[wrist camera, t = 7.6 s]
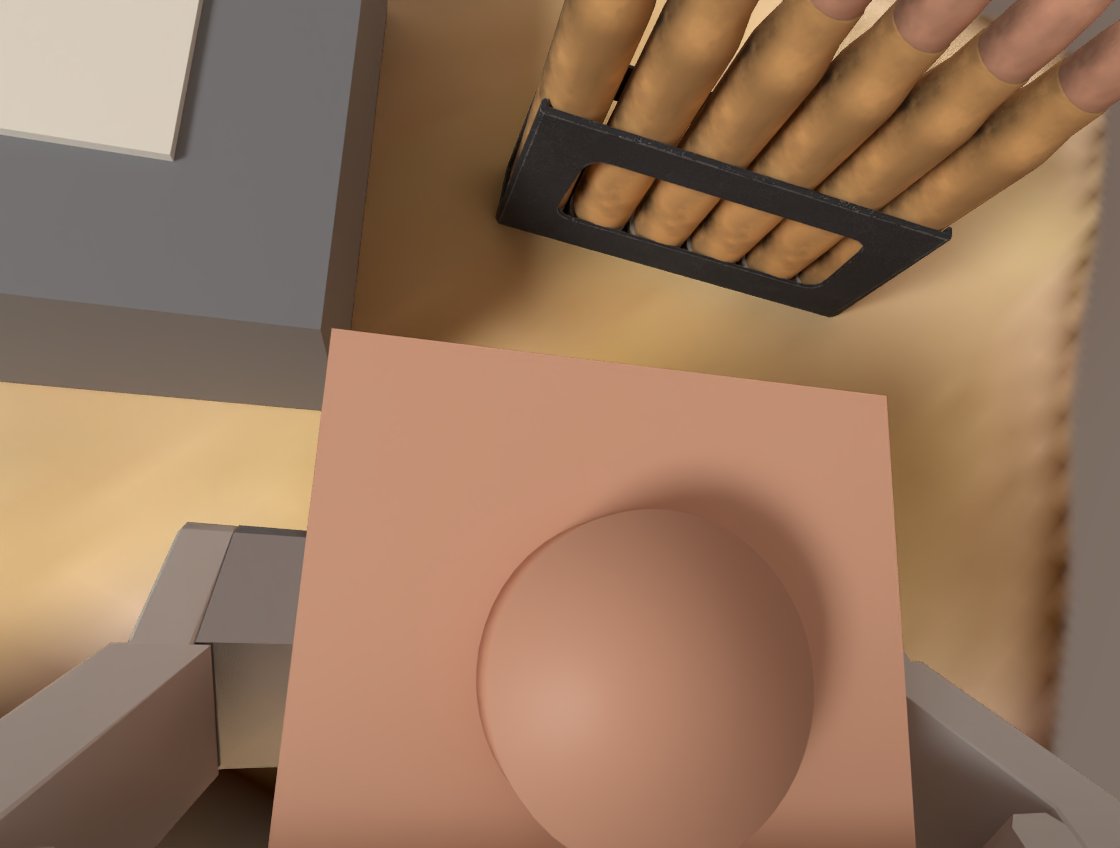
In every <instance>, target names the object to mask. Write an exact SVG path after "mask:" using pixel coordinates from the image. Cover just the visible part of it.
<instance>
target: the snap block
mask: <svg viewBox="0 0 1120 848" xmlns="http://www.w3.org/2000/svg"><path fill="white" fill-rule="evenodd" d="M268 848H916V841H915V826H914V810H913V795H912V780H911V764H910V749H909V734H908V718H907V703H906V688H905V672H904V657H903V642H902V626H901V611H900V595H899V580H898V565H897V549H896V534H895V519H894V503H893V488H892V473H891V457H890V442H889V426H888V411H887V396H884V395H876V394H868V393H860V392H852V391H843V390H835V389H827V388H819V387H810V386H802V385H794V384H786V383H778V382H769V381H761V380H753V379H745V378H737V377H728V376H720V375H712V374H704V373H696V372H687V371H679V370H671V369H663V368H655V367H646V366H638V365H630V364H622V363H614V362H605V361H597V360H589V359H581V358H572V357H564V356H556V355H548V354H540V353H531V352H523V351H515V350H507V349H499V348H490V347H482V346H474V345H466V344H458V343H449V342H441V341H433V340H425V339H417V338H408V337H400V336H392V335H384V334H376V333H367V332H359V331H351V330H343V329H334V328H332V330H331V338H330V347H329V355H328V363H327V371H326V379H325V387H324V396H323V404H322V412H321V420H320V428H319V436H318V445H317V453H316V461H315V469H314V477H313V486H312V494H311V502H310V510H309V518H308V526H307V535H306V543H305V551H304V559H303V567H302V575H301V584H300V592H299V600H298V608H297V616H296V625H295V633H294V641H293V649H292V657H291V665H290V674H289V682H288V690H287V698H286V706H285V714H284V723H283V731H282V739H281V747H280V755H279V763H278V772H277V780H276V788H275V796H274V804H273V813H272V821H271V829H270V837H269V845H268Z"/></svg>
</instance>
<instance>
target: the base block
mask: <svg viewBox="0 0 1120 848" xmlns="http://www.w3.org/2000/svg"><path fill="white" fill-rule="evenodd" d="M386 15H387V0H0V382H9V383H20V384H31V385H42V386H54V387H65V388H76V389H87V390H98V391H109V392H120V393H131V394H142V395H153V396H164V397H175V398H186V399H197V400H208V401H219V402H230V403H241V404H252V405H263V406H274V407H285V408H296V409H307V410H318V411H322V404H323V396H324V387H325V379H326V371H327V363H328V355H329V347H330V338H331V330H332V328H334V329H343V330H351V323H352V314H353V306H354V297H355V288H356V279H357V270H358V262H359V253H360V244H361V235H362V226H363V218H364V209H365V200H366V191H367V182H368V174H369V165H370V156H371V147H372V139H373V130H374V121H375V112H376V103H377V95H378V86H379V77H380V68H381V59H382V51H383V42H384V33H385V24H386Z"/></svg>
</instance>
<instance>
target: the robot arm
mask: <svg viewBox="0 0 1120 848" xmlns="http://www.w3.org/2000/svg"><path fill="white" fill-rule="evenodd" d="M306 535H307V531H303V530H290V529H278V528H266V527H254V526H241V525H239V526H238V527H237V526H230V525H218V524H206V523H193V522H187V523H186V524H185V525H184V526H183V527H182V528H181V529H180V530H179V531H178V533H177V535H176V537H175V539H174V541H173V544H172V546H171V548H170V550H169V552H168V555H167V557H166V559H165V561H164V563H163V566H162V568H161V570H160V572H159V574H158V577H157V579H156V581H155V583H154V585H153V588H152V590H151V592H150V594H149V596H148V599H147V601H146V603H145V605H144V607H143V610H142V612H141V614H140V616H139V618H138V621H137V623H136V625H135V627H134V629H133V632H132V634H131V636H130V638H129V640H128V643H109V644H107V645H106V646H105V647H103V648H102V649H100V650H99V651H97V652H96V653H94V654H93V655H92V656H90V657H89V658H87V659H86V660H84V661H83V662H82V663H80V664H79V665H77V666H76V667H74V668H73V669H71V670H70V671H69V672H67V673H66V674H64V675H63V676H61V677H60V678H58V679H57V680H56V681H54V682H53V683H51V684H50V685H48V686H47V687H45V688H44V689H43V690H41V691H40V692H38V693H37V694H35V695H34V696H33V697H31V698H30V699H28V700H27V701H25V702H24V703H22V704H21V705H20V706H18V707H17V708H15V709H14V710H12V711H11V712H9V713H8V714H7V715H5V716H4V717H2V718H1V719H0V848H155V847H156V846H157V845H158V843H159V842H160V841H161V840H162V839H163V838H164V836H165V835H166V834H167V833H168V832H169V831H170V830H171V828H172V827H173V826H174V825H175V824H176V823H177V822H178V820H179V819H180V818H181V817H182V816H183V815H184V813H185V812H186V811H187V810H188V809H189V808H190V807H191V805H192V804H193V803H194V802H195V801H196V800H197V799H198V797H199V796H200V795H201V794H202V793H203V792H204V791H205V789H206V788H207V787H208V786H209V785H210V784H211V782H212V781H213V780H214V779H215V778H216V777H217V776H218V769H230V768H256V767H278V763H279V755H280V747H281V739H282V731H283V723H284V714H285V706H286V698H287V690H288V682H289V674H290V665H291V657H292V649H293V641H294V633H295V625H296V616H297V608H298V600H299V592H300V584H301V575H302V567H303V559H304V551H305V543H306ZM903 657H904V672H905V688H906V703H907V718H908V734H909V749H910V764H911V780H912V795H913V810H914V826H915V841H916V848H1120V801H1119V800H1118V799H1116V798H1115V797H1114V796H1112V795H1111V794H1109V793H1108V792H1106V791H1105V790H1103V789H1102V788H1101V787H1099V786H1098V785H1096V784H1095V783H1093V782H1092V781H1091V780H1089V779H1088V778H1086V777H1085V776H1084V775H1082V774H1081V773H1079V772H1078V771H1076V770H1075V769H1073V768H1072V767H1071V766H1069V765H1068V764H1066V763H1065V762H1064V761H1062V760H1061V759H1059V758H1058V757H1056V756H1055V755H1054V754H1052V753H1051V752H1049V751H1048V750H1046V749H1045V748H1044V747H1042V746H1041V745H1039V744H1038V743H1037V742H1035V741H1034V740H1032V739H1031V738H1029V737H1028V736H1027V735H1025V734H1024V733H1022V732H1021V731H1019V730H1018V729H1017V728H1015V727H1014V726H1012V725H1011V724H1009V723H1008V722H1007V721H1005V720H1004V719H1002V718H1001V717H999V716H998V715H997V714H995V713H994V712H992V711H991V710H989V709H988V708H987V707H985V706H984V705H982V704H981V703H979V702H978V701H977V700H975V699H974V698H972V697H971V696H969V695H968V694H967V693H965V692H964V691H962V690H961V689H959V688H958V687H957V686H955V685H954V684H952V683H951V682H949V681H948V680H947V679H945V678H944V677H942V676H941V675H939V674H938V673H937V672H935V671H934V670H932V669H931V668H929V667H928V666H927V665H925V664H924V663H922V662H911V661H910V660H909V659H908V657H907V656H906V654H905V653H904V651H903Z"/></svg>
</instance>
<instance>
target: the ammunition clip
mask: <svg viewBox="0 0 1120 848" xmlns="http://www.w3.org/2000/svg"><path fill="white" fill-rule="evenodd" d="M758 1H759V0H667V2H666V3H665V5H664V7H663V9H662V11H661V13H660V15H659V17H658V20H657V22H656V24H655V26H654V28H653V30H652V32H651V34H650V36H649V38H648V40H647V42H646V44H645V46H644V48H643V51H642V53H641V55H640V57H639V59H638V61H637V63H636V65H635V66H632V65H629V64H630V62H631V60H632V58H633V55H634V53H635V51H636V49H637V47H638V44H639V42H640V40H641V38H642V36H643V33H644V31H645V29H646V27H647V24H648V22H649V20H650V17H651V15H652V12H653V10H654V7H655V4H656V0H565V1H564V5H563V8H562V11H561V14H560V17H559V21H558V24H557V27H556V30H555V34H554V37H553V40H552V43H551V46H550V50H549V53H548V56H547V59H546V62H545V66H544V69H543V72H542V75H541V79H540V82H539V85H538V88H537V91H536V93H535V96H534V98H533V101H532V104H531V106H530V109H529V111H528V114H527V117H526V119H525V122H524V124H523V127H522V130H521V132H520V135H519V137H518V140H517V143H516V145H515V148H514V150H513V153H512V156H511V158H510V161H509V164H508V166H507V170H506V175H505V179H504V183H503V188H502V192H501V197H500V201H499V206H498V210H497V214H496V220H497V222H498V223H499V224H502V225H506V226H509V227H513V228H516V229H520V230H523V231H527V232H530V233H534V234H537V235H541V236H544V237H548V238H551V239H555V240H558V241H562V242H566V243H569V244H573V245H576V246H580V247H583V248H587V249H590V250H594V251H597V252H601V253H604V254H608V255H611V256H615V257H618V258H622V259H625V260H629V261H633V262H636V263H640V264H643V265H647V266H650V267H654V268H657V269H661V270H664V271H668V272H671V273H675V274H678V275H682V276H685V277H689V278H693V279H696V280H700V281H703V282H707V283H710V284H714V285H717V286H721V287H724V288H728V289H731V290H735V291H738V292H742V293H745V294H749V295H752V296H756V297H760V298H763V299H767V300H770V301H774V302H777V303H781V304H784V305H788V306H791V307H795V308H798V309H802V310H805V311H809V312H812V313H816V314H819V315H823V316H827V317H832V316H836V315H838V314H840V313H841V312H843V311H844V310H846V309H847V308H849V307H850V306H852V305H853V304H855V303H856V302H858V301H859V300H861V299H862V298H864V297H865V296H867V295H868V294H870V293H871V292H873V291H874V290H876V289H877V288H879V287H880V286H882V285H883V284H885V283H886V282H888V281H889V280H891V279H892V278H894V277H895V276H897V275H898V274H900V273H901V272H903V271H904V270H906V269H907V268H909V267H910V266H912V265H913V264H915V263H916V262H918V261H919V260H921V259H922V258H924V257H925V256H927V255H928V254H930V253H931V252H933V251H934V250H936V249H937V248H939V247H940V246H942V245H943V244H945V243H946V242H948V241H949V240H950V239H951V237H952V228H951V227H948V226H949V225H951V224H952V223H954V222H955V221H957V220H958V219H960V218H961V217H963V216H964V215H966V214H967V213H969V212H970V211H972V210H973V209H975V208H976V207H978V206H980V205H981V204H983V203H984V202H986V201H987V200H989V199H990V198H992V197H993V196H995V195H996V194H998V193H999V192H1001V191H1002V190H1004V189H1005V188H1007V187H1008V186H1010V185H1011V184H1013V183H1015V182H1016V181H1018V180H1019V179H1021V178H1022V177H1024V176H1025V175H1027V174H1028V173H1030V172H1031V171H1033V170H1034V169H1036V168H1037V167H1038V166H1040V165H1041V164H1042V163H1044V162H1045V161H1046V160H1047V159H1048V158H1049V157H1050V156H1051V155H1052V154H1053V153H1054V152H1055V151H1056V150H1057V149H1058V148H1059V147H1061V146H1062V145H1063V144H1064V143H1065V142H1066V141H1067V140H1068V139H1069V138H1070V137H1071V136H1072V135H1074V134H1075V133H1077V132H1078V131H1079V130H1081V129H1082V128H1083V127H1085V126H1086V125H1088V124H1089V123H1090V122H1092V121H1093V120H1095V119H1096V118H1097V117H1099V116H1100V115H1101V114H1103V113H1104V112H1105V111H1106V110H1107V109H1108V107H1110V106H1111V105H1113V104H1114V103H1116V102H1117V101H1119V100H1120V20H1119V21H1117V22H1116V23H1114V24H1112V25H1111V26H1109V27H1108V28H1106V29H1105V30H1104V31H1102V32H1101V33H1099V34H1098V35H1097V36H1095V37H1094V38H1093V39H1091V40H1090V41H1089V42H1087V43H1086V44H1085V45H1083V46H1082V47H1081V48H1080V49H1078V50H1077V51H1076V52H1074V53H1073V54H1072V55H1070V56H1069V57H1067V58H1065V59H1063V60H1061V61H1060V62H1058V63H1057V64H1055V65H1054V66H1053V67H1051V68H1050V69H1049V70H1047V71H1046V72H1044V73H1043V74H1042V75H1040V76H1039V77H1037V78H1036V79H1035V80H1033V81H1032V82H1031V83H1029V84H1028V85H1026V86H1024V87H1022V86H1023V85H1024V84H1026V83H1027V82H1028V80H1029V79H1030V78H1031V76H1033V75H1034V74H1035V73H1036V72H1038V71H1039V70H1040V69H1041V68H1042V67H1044V66H1045V65H1046V64H1047V63H1049V62H1050V61H1051V60H1052V59H1053V58H1055V57H1056V56H1057V55H1058V54H1059V53H1061V52H1062V51H1063V50H1064V49H1065V48H1066V47H1067V46H1069V44H1071V42H1073V41H1074V40H1075V39H1076V38H1077V37H1078V36H1079V35H1080V34H1081V33H1082V32H1083V31H1084V30H1085V29H1086V28H1087V27H1088V26H1089V25H1090V24H1092V23H1093V22H1094V21H1095V20H1096V19H1097V18H1098V17H1099V16H1100V15H1101V14H1102V13H1103V11H1104V10H1105V9H1106V8H1107V7H1108V6H1109V5H1110V4H1111V3H1112V2H1113V1H1114V0H1017V1H1016V2H1015V3H1014V4H1013V5H1011V6H1010V7H1009V8H1008V9H1007V10H1006V11H1005V12H1004V13H1003V14H1002V15H1000V16H999V17H998V18H997V19H996V20H995V21H994V22H993V23H992V24H991V25H989V26H988V27H987V28H985V29H983V30H981V31H980V32H979V33H978V34H977V35H976V36H974V37H973V38H972V39H971V40H970V41H969V42H968V43H966V44H965V45H964V46H963V47H962V48H961V49H959V50H958V51H957V52H956V53H955V54H954V55H953V56H951V57H950V58H948V59H947V60H945V61H944V62H942V63H940V64H939V65H937V66H936V67H934V68H933V69H931V70H929V71H928V72H926V71H927V70H928V69H929V67H930V66H931V65H932V64H933V63H934V62H935V61H936V60H937V59H938V58H939V57H940V56H941V55H942V54H943V53H944V52H945V51H946V49H947V48H948V47H949V46H950V43H951V42H952V41H953V40H954V39H955V38H956V37H957V36H958V35H959V34H960V33H961V32H962V31H963V30H964V29H965V28H966V27H967V26H968V25H969V24H970V23H971V22H972V21H973V20H974V19H975V18H976V17H977V16H978V15H979V14H980V13H981V12H982V10H983V9H984V8H985V7H986V6H987V5H988V4H989V2H990V1H991V0H897V1H896V2H895V3H894V4H893V5H892V6H891V7H890V8H889V9H888V10H887V11H886V12H885V13H884V14H883V15H882V17H881V18H880V19H879V20H878V21H877V22H876V23H875V24H874V25H873V26H872V27H871V28H870V29H869V30H867V31H866V32H865V33H863V34H862V35H861V36H859V37H858V38H857V39H856V40H854V41H853V42H852V43H850V44H849V45H848V46H847V47H846V48H844V49H843V50H842V51H841V52H840V53H839V54H838V55H837V56H836V58H835V59H834V60H833V61H832V59H833V57H834V55H835V53H836V51H837V49H838V48H839V46H840V44H841V43H842V41H843V40H844V39H845V38H846V36H847V35H848V34H849V32H850V31H851V30H852V28H853V27H854V26H855V24H856V23H857V22H858V20H859V19H860V18H861V16H862V15H863V14H864V11H865V8H866V7H867V6H868V5H869V3H870V2H871V1H872V0H783V1H782V3H781V4H779V5H778V6H777V7H776V8H775V9H774V10H773V11H772V12H771V13H770V14H769V15H768V16H767V17H766V18H765V19H764V20H763V21H762V22H761V23H760V24H759V25H758V26H757V27H756V28H755V30H754V31H753V32H752V34H751V35H750V36H749V38H748V39H747V41H746V42H745V44H744V45H743V47H742V48H741V50H740V51H739V53H738V54H737V56H736V57H735V59H734V60H733V62H732V63H731V65H730V66H729V68H728V69H727V71H726V72H725V74H724V75H723V77H722V78H721V80H720V81H719V83H718V84H717V86H716V87H715V89H714V90H713V92H711V91H712V89H713V88H714V86H715V84H716V83H717V81H718V80H719V78H720V77H721V75H722V74H723V72H724V70H725V69H726V67H727V66H728V64H729V63H730V61H731V60H732V58H733V56H734V55H735V53H736V51H737V49H738V48H739V45H740V43H741V40H742V38H743V35H744V33H745V30H746V27H747V24H748V22H749V19H750V16H751V13H752V11H753V10H754V8H755V6H756V4H757V3H758ZM831 61H832V62H831ZM925 72H926V73H925ZM924 73H925V74H924ZM1021 87H1022V88H1021ZM1020 88H1021V89H1020ZM613 100H615V101H618V102H617V104H616V106H615V108H614V110H613V113H612V115H611V117H610V119H609V121H608V123H607V125H604V124H603V122H604V119H605V117H606V115H607V113H608V110H609V108H610V106H611V104H612V102H613ZM690 124H691V125H690ZM689 125H690V126H689ZM688 127H689V128H688ZM687 128H688V129H687ZM686 130H687V131H686ZM685 131H686V132H685ZM684 133H685V134H684ZM683 134H684V135H683ZM682 136H683V137H682ZM681 137H682V138H681ZM680 139H681V140H680ZM678 142H679V143H678ZM676 145H677V146H676ZM946 227H948V228H946ZM945 228H946V229H945ZM943 229H945V230H944V231H942V232H941V230H943Z"/></svg>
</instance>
